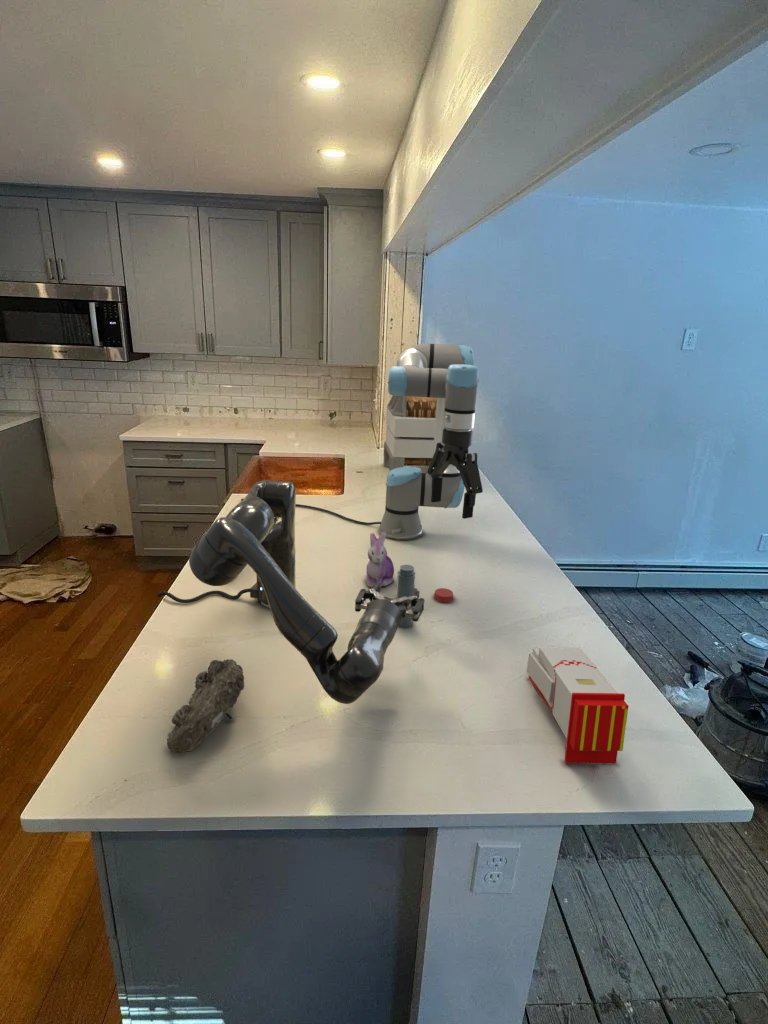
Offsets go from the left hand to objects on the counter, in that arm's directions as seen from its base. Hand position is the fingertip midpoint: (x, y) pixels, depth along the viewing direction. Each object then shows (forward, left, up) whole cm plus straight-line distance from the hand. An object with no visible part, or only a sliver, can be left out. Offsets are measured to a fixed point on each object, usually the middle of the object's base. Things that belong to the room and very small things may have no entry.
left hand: (397, 588), depth 128 cm
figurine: (-12, +32, -15) cm, 37 cm away
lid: (+7, +28, -14) cm, 32 cm away
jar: (0, +12, -15) cm, 19 cm away
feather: (-62, +72, -15) cm, 96 cm away
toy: (+38, -12, -15) cm, 43 cm away
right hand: (+7, +28, +11) cm, 31 cm away
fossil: (-27, -34, -15) cm, 46 cm away
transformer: (-24, +150, -15) cm, 152 cm away
